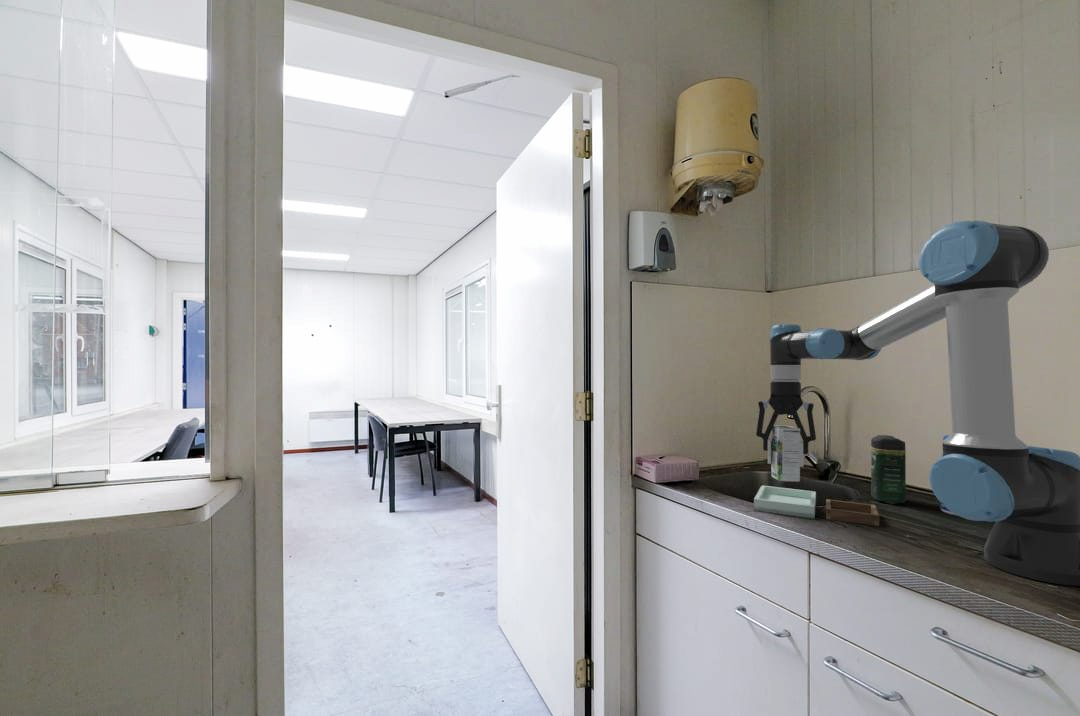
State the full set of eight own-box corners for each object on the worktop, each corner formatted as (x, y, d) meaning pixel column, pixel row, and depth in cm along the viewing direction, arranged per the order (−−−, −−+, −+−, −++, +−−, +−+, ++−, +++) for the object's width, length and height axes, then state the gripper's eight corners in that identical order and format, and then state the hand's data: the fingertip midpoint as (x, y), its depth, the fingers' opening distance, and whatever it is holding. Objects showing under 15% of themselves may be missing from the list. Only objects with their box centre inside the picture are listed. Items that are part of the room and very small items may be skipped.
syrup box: (770, 476, 138) (770, 424, 138) (792, 477, 137) (792, 425, 138) (778, 481, 132) (777, 427, 132) (801, 481, 132) (800, 427, 132)
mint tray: (814, 518, 123) (814, 506, 123) (754, 510, 130) (754, 498, 130) (815, 502, 139) (815, 491, 139) (761, 495, 146) (761, 485, 146)
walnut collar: (879, 526, 118) (879, 515, 118) (826, 518, 123) (826, 508, 123) (875, 514, 127) (875, 504, 127) (826, 508, 133) (826, 499, 133)
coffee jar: (909, 506, 136) (908, 438, 136) (875, 502, 139) (874, 436, 139) (900, 497, 144) (900, 434, 145) (868, 494, 148) (868, 432, 148)
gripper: (827, 381, 133) (827, 466, 133) (748, 379, 143) (747, 458, 143) (827, 382, 127) (828, 471, 126) (744, 380, 137) (744, 462, 137)
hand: (785, 464), depth 135 cm, fingers closed on syrup box, 7 cm apart
